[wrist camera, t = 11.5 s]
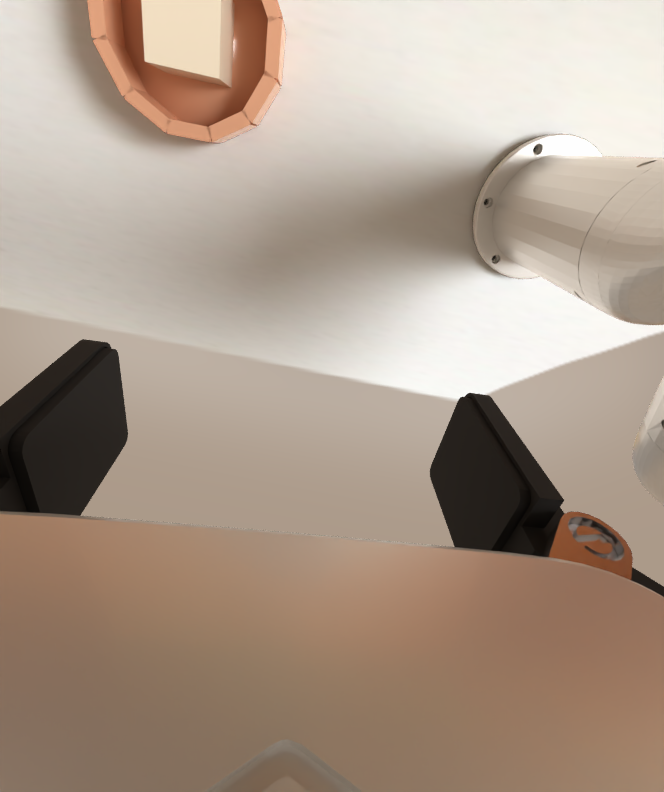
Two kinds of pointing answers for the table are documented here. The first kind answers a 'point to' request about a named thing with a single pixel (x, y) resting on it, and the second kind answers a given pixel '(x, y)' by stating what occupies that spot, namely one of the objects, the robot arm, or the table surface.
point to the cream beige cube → (190, 38)
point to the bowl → (188, 98)
